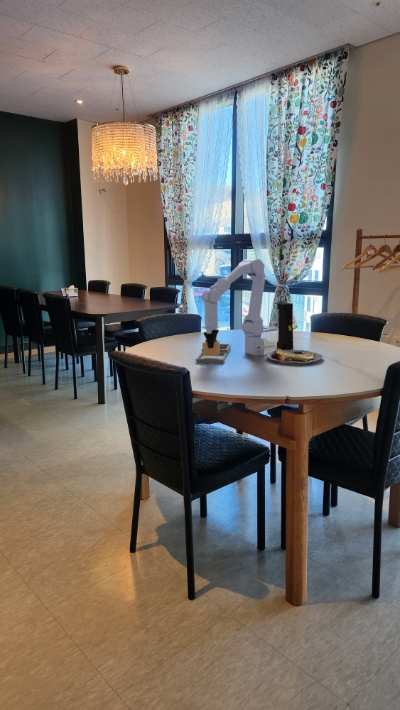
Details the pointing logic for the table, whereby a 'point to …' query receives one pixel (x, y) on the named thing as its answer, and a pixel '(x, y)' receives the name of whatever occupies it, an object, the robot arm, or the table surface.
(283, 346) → the portable radio
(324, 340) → the table surface
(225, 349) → the case
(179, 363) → the table surface
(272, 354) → the food plate
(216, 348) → the module
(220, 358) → the shallow grey tray
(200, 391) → the table surface
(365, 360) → the table surface
